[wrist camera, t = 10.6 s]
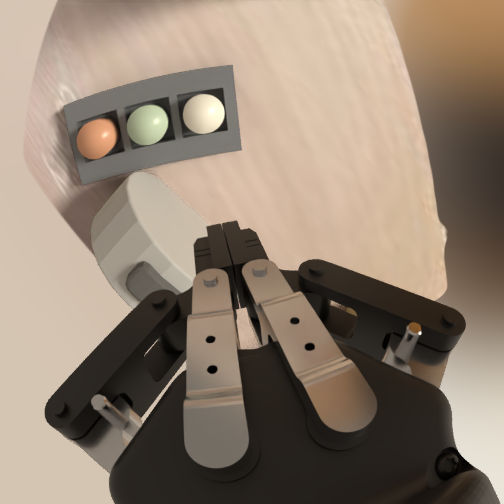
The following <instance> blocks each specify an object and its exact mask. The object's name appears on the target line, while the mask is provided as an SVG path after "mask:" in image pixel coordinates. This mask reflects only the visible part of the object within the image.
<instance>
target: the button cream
mask: <svg viewBox="0 0 504 504" xmlns="http://www.w3.org/2000/svg"><path fill="white" fill-rule="evenodd" d="M224 114H225V112H224V107H223V105H222V103H221V102H220V101H219V100H218V99H217V98H216V97H214V96H211V95H207V94H199V95H196V96H194V97H192V98H190V99H189V100H188V101H187V103H186V105H185V107H184V111H183V119H184V122H185V124H186V126H187V127H188V128H189V129H190V130H191V131H193V132H195V133H199V134H207V133H210V132H213V131H214V130H216V129H217V128H218V127H219V126H220V125H221V124H222V122H223V119H224Z"/></svg>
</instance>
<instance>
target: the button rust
mask: <svg viewBox="0 0 504 504" xmlns="http://www.w3.org/2000/svg"><path fill="white" fill-rule="evenodd" d="M119 139H120V128H119V125H118V124H117V122H116V121H115V120H113V119H111V118H108V117H102V118H99V119H96V120H93V121H91V122H88V123H87V124H85V125H84V126H83V127H82V128H81V129H80V131H79V133H78V136H77V147H78V149H79V151H80V153H81V154H82V155H83V156H84V157H86V158H89V159H99V158H101V157H103V156H105V155H106V154H107V153H108V152H109V151H110V150H111V149H113V148H114V147H115V146H116V145H117V143H118V141H119Z"/></svg>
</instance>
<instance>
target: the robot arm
mask: <svg viewBox="0 0 504 504" xmlns="http://www.w3.org/2000/svg"><path fill="white" fill-rule="evenodd" d="M222 228H223V230H222ZM206 229H207V235H208V236H207V237H202V238H197V240H196V241H195V243H194V245H193V247H194V259H195V271H196V276H195V278H194V280H193V286H192V287H191V288H189V289H188V290H186V291H185V292H183V293H180V294H178V295H176V294H175V293H174V292H172V291H170V290H166V289H162V290H157V291H154V292H152V293H150V294H149V295H147V296H146V297H145V298H144V299H143V300H142V301H141V302H140V303H139V304H138V305H137V306H136V307H135V308H134V309H133V310H132V311H131V312H130V313H129V314H128V315H127V316H126V317H125V319H123V320H122V321H121V322H120V324H118V326H117V327H116V328H115V329H114V330H113V331H112V332H111V333H110V334H109V335H108V336H107V337H106V338H105V339H104V340H103V341H102V342H101V343H100V344H99V345H98V346H97V347H96V348H95V349H94V351H93V352H92V353H91V354H90V355H89V356H88V357H87V358H86V359H85V360H84V361H83V362H82V363H81V365H79V367H78V368H77V369H76V370H75V371H74V372H73V373H72V374H71V375H70V376H69V377H68V379H67V380H66V381H65V382H64V383H63V384H62V385H61V386H60V387H59V389H58V390H57V391H56V392H55V393H54V394H53V395H52V396H51V398H50V399H49V400H48V402H47V404H46V406H45V418H46V420H47V422H48V423H49V425H51V426H52V427H53V428H55V429H56V430H57V431H59V432H60V433H61V434H62V435H63V436H64V437H66V438H67V439H68V440H70V441H71V442H73V443H74V444H76V445H77V446H79V447H80V448H82V449H83V450H84V451H85V452H86V453H87V454H88V455H89V456H90V457H91V458H93V459H94V460H95V461H96V462H97V463H98V464H99V465H100V466H102V467H103V468H104V469H105V470H107V472H109V473H110V477H109V488H110V493H111V497H112V499H113V501H114V503H115V504H500V501H499V499H498V497H497V495H496V493H495V491H494V489H493V486H492V484H491V482H490V480H489V478H488V477H487V476H486V475H485V474H484V473H483V472H481V471H480V470H478V469H477V468H475V467H474V466H472V465H471V464H470V463H469V462H467V461H466V460H465V459H464V458H463V457H462V456H461V455H460V453H459V452H458V450H457V448H456V445H455V441H454V436H453V428H452V411H451V407H450V404H449V401H448V400H447V398H446V396H445V395H444V394H443V392H442V391H441V390H440V389H439V387H440V385H441V381H442V378H443V375H444V372H445V368H446V365H447V361H448V357H449V355H450V353H451V352H452V350H453V348H454V347H455V345H456V344H457V342H458V340H459V339H460V337H461V335H462V334H463V332H464V330H465V326H466V323H465V319H464V317H463V316H462V315H461V313H459V312H458V311H457V310H455V309H453V308H451V307H448V306H446V305H443V304H441V303H438V302H435V301H433V300H430V299H427V298H425V297H422V296H419V295H417V294H414V293H411V292H409V291H406V290H403V289H401V288H398V287H395V286H393V285H390V284H387V283H384V282H382V281H379V280H376V279H374V278H371V277H368V276H365V275H363V274H360V273H357V272H354V271H352V270H349V269H346V268H343V267H341V266H338V265H335V264H332V263H329V262H327V261H324V260H319V259H313V260H308V261H305V262H303V263H302V264H301V265H300V266H299V271H289V270H281V269H278V267H277V265H276V264H275V263H274V262H272V261H270V260H269V259H268V257H267V254H266V252H265V250H264V248H263V246H262V245H261V242H260V240H259V238H258V235H257V233H256V232H254V231H253V230H251V229H250V228H248V229H243V230H240V227H239V225H238V222H237V221H231V222H226V223H222V226H221V224H216V225H210V226H206ZM237 296H238V297H237ZM238 299H239V303H240V307H241V308H245V307H246V308H247V311H248V317H249V322H250V325H251V327H252V330H253V332H254V335H255V337H256V339H257V342H258V344H259V347H260V348H258V349H241V348H240V341H239V334H238V327H237V321H236V320H237V313H236V309H239V303H238ZM331 300H332V301H334V302H337V303H339V304H341V305H344V306H346V307H349V308H351V309H353V310H354V311H355V312H356V314H357V316H355V315H353V314H350V313H348V312H345V311H343V310H341V309H338V308H336V307H333V306H331V305H330V303H331ZM157 339H158V341H157V342H156V343H155V344H154V342H155V341H156V340H157ZM153 344H154V346H153V347H152V348H151V349H150V350H149V352H148V353H147V354H146V355H145V353H146V352H147V351H148V349H149V348H150V347H151V346H152V345H153ZM144 355H145V356H144ZM186 359H187V361H186V364H187V366H186V370H185V371H183V372H182V373H181V374H180V375H179V376H177V378H176V379H175V380H174V381H173V382H172V383H171V385H170V386H169V388H168V389H167V391H166V392H165V393H164V395H163V396H162V398H161V399H160V400H159V402H158V403H157V405H156V406H155V407H154V409H153V410H152V412H151V413H150V414H149V416H148V417H147V419H146V420H145V421H144V423H143V424H142V420H141V417H142V416H143V415H144V414H145V412H146V411H147V410H148V409H149V407H150V406H151V405H152V403H153V402H154V401H155V400H156V398H157V397H158V396H159V394H160V393H161V392H162V390H163V389H164V388H165V387H166V385H167V384H168V383H169V381H170V380H171V379H172V377H173V376H174V375H175V373H176V372H177V371H178V369H179V368H180V367H181V366H182V364H183V363H184V362H185V360H186Z"/></svg>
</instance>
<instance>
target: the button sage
mask: <svg viewBox="0 0 504 504" xmlns="http://www.w3.org/2000/svg"><path fill="white" fill-rule="evenodd" d="M168 126H169V115H168V113H167V111H166V110H165V109H164V108H163V107H161V106H160V105H156V104H149V105H145V106H143V107H140V108H138V109H136V110H135V111H134V112H133V113H132V114H131V115H130V117H129V119H128V122H127V131H128V134H129V136H130V138H131V139H132V140H133V141H134V142H136V143H137V144H140V145H151V144H154V143H156V142H158V141H159V140H160V139H161V138H162V137H163V136H164V134H165V132H166V130H167V128H168Z"/></svg>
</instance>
